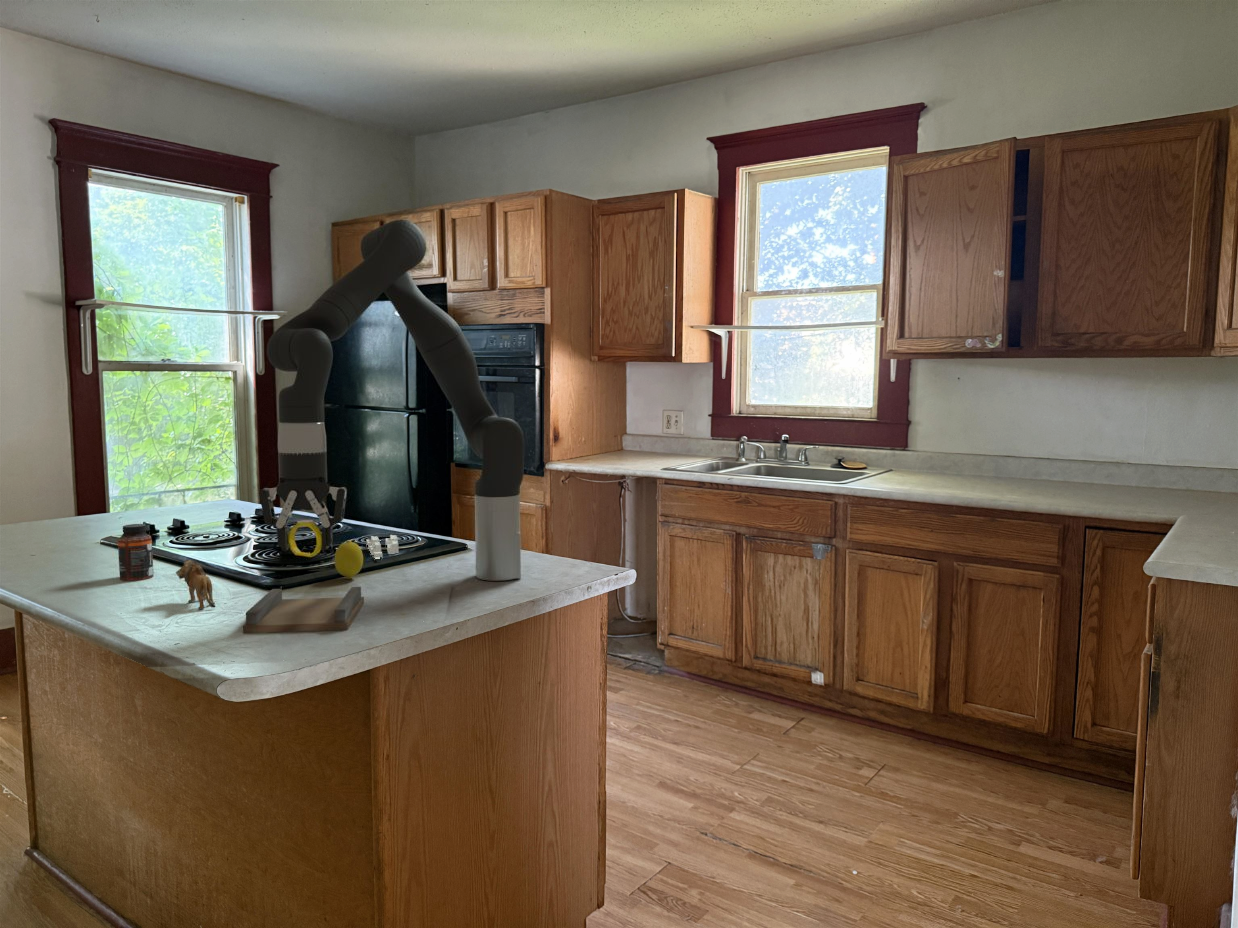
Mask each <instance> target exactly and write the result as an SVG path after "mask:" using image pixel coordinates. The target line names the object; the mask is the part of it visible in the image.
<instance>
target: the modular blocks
mask: <svg viewBox="0 0 1238 928" xmlns="http://www.w3.org/2000/svg"><path fill="white" fill-rule="evenodd" d="M365 540H366V543H367V544H366V543H365V544H366V546H367V545H368V548H369V550H368V551H370V553H371V554H370V553H369V554H370V556H371V555H374V556H373V559H374V558H375V559H380V557H382V558H383V552H382V545H381V543H380V539H379V537H378V536H377V535H376V536H374V535H371V536H370V539H365ZM398 540H399V539H398V536H397V535H396V534H395V535H394V534H390V535H389V538H387V537H386V538H385V546H386V545H387V548H386V550H387V554H395V553H399V541H398ZM368 548H367V549H368ZM395 555H396V554H395ZM375 559H374V560H375Z"/></svg>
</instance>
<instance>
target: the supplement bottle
mask: <svg viewBox="0 0 1238 928" xmlns="http://www.w3.org/2000/svg"><path fill="white" fill-rule="evenodd" d="M146 526H147V525H146V524H145V523H132V524H130V523H129V524H126V525H125V524H124V525H123V526H122V535H121V536H120V537H119V538H118V539H117V550H118V553H117V555H118V566H119V567H118V571H119V580H120V581H121V582H140V581H145V580H150V579H152V578H153V577H154V561H153V560H154V559H153V556H154V555H153V540H152V535H150V534H148V533H147V527H146Z"/></svg>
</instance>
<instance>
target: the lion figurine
mask: <svg viewBox="0 0 1238 928" xmlns="http://www.w3.org/2000/svg"><path fill="white" fill-rule="evenodd" d="M175 574H176V575H177V577H178V579H179V580H182V579H184V582H185V583H186V585H187V587H188V591H189V595H190V599H189V600H188V601H187V603H189V604H193V603H195V602H196V597H197V600H198V603H199V606H198V608H197V609H198V610H204V609H205V605H204V601H206V602H207V604H208V605H209V606H210V608H216V605H215V604H216V603H215V601H214V598H213V584H212V583H213V582H212V580H211V579H210V576H207V575H206V572H205V571H204V569H203V567H202V566H201V565H200V564H198V562H196V561H193V560H187V561H186V560H185V561H184V562H183V565H182V566H181V567H180V568H179V569H178V570H177V571H176V572H175ZM195 594H196V596H195Z"/></svg>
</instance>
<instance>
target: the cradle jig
mask: <svg viewBox="0 0 1238 928" xmlns="http://www.w3.org/2000/svg"><path fill="white" fill-rule="evenodd" d="M266 593H267V594H265V595H264V596H263V597H261V599H259V600H258V601H257V602H256V603H255V604H254V605H253V606H251V608H250V609H248V610H247V611H246V612H245V623H244V624H243V625H242V634H262V633H263V634H264V633H265V634H266V633H267V634H268V633H269V634H270V633H288V632H289V633H290V632H291V633H292V632H316V631H317V632H319V631H321V632H322V631H346V630H347V631H348V630H349V628H350V627H351V625H352V624H353V622H354V620H355V618H356V617H357V616H358V614H359V613H360V611H361V609H362V607H363V606H364V604H365V596H362V586H351V587H350V588H349V590H348V591H347V593H346V594H345V595H344V596H343V597H341V596H340V597H314V598H283V589H282V588H272V589H271V590H270V591H268V592H266Z"/></svg>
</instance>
